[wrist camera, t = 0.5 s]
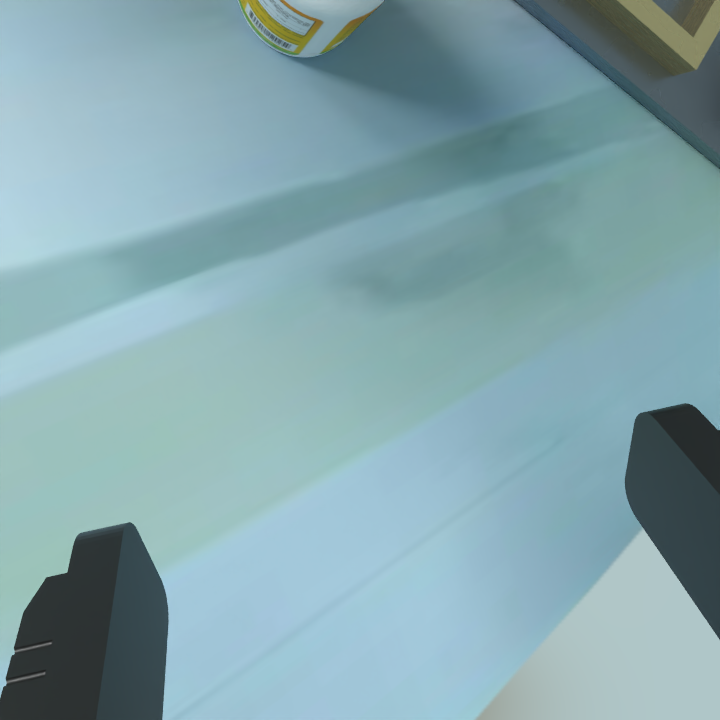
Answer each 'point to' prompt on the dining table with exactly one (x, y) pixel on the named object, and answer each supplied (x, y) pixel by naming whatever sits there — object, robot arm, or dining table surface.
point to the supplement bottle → (305, 23)
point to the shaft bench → (651, 56)
